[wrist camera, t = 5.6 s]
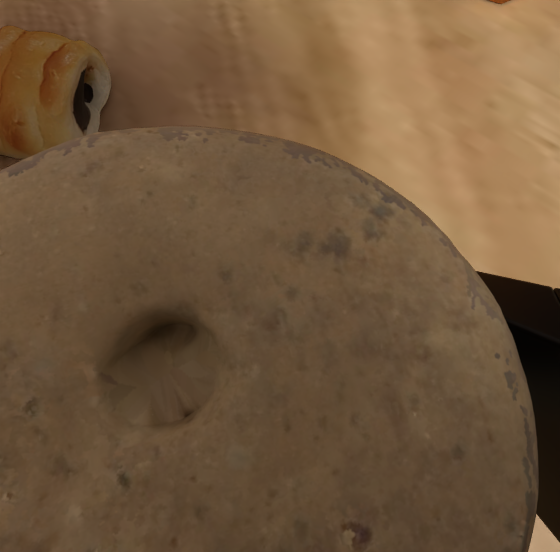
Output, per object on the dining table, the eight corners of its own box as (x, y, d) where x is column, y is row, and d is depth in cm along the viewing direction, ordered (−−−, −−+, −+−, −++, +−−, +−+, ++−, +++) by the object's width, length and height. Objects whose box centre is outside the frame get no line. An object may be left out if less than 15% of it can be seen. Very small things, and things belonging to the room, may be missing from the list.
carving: (93, 391, 15) (-537, 376, 3) (273, 263, 16) (318, -76, 4) (202, 560, 13) (-133, 1598, 2) (385, 406, 15) (828, 442, 3)
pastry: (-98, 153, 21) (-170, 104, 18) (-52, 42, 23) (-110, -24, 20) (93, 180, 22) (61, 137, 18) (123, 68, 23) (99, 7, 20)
